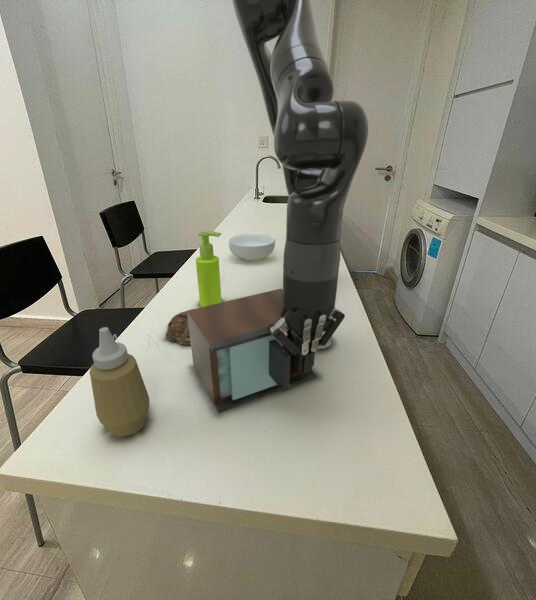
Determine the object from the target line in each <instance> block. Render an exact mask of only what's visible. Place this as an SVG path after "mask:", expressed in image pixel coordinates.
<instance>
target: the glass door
mask: <svg viewBox="0 0 536 600" xmlns="http://www.w3.org/2000/svg"><path fill="white" fill-rule="evenodd" d="M229 359H230V376H231V393H232V399H233V400H235V399H238V398H241V397H244V396H247V395H250V394H252V393H255V392H258V391H261V390H264V389H267V388H269V387H272V386H275V385H278V386H279V387H280V389H281V390H280V391H282V392H283V393H284V392H286V391H289V390H290V387H289V383H290V360H291V355H290V354H289V353H288V352H287V351H286V350H285V349H284V348H283V345H282V344H281V343H280V342H279V341H278V340H277V339H276V338H275V337H274V336H273V335H270V336H266V337H263V338H259V339H256V340H252V341H249V342H245V343H242V344H239V345H235V346H232V347H229Z"/></svg>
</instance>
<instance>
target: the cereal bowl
mask: <svg viewBox="0 0 536 600" xmlns="http://www.w3.org/2000/svg"><path fill="white" fill-rule="evenodd" d="M275 247H276V238H275V237H274V236H272V235H269V234H265V233H244V234H237V235H235V236H233V237H230V238H229V239H228V248H229V251H230V252H231V254H232V255H234V256H235V257H237V258H240V259H242V260H243V261H246V262H257V261H261V260H262V259H264V258H266V257H268V256H270V255H271V254H272V253H273V252H274V250H275Z"/></svg>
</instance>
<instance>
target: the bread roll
mask: <svg viewBox="0 0 536 600" xmlns="http://www.w3.org/2000/svg"><path fill="white" fill-rule="evenodd" d="M192 309H193V308H191V309H190V310H192ZM187 311H188V310H185V311H181V312H179V313H177V314H175V315H173V316H172V318H171V319H170V320H169V322H168V324H167V330H166V333H165V338H166V339H167V341H170V342H172V343H178V344H180V345H183V346H185V345H189V346H191V341H190V333H189V325H188V316H187Z"/></svg>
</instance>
